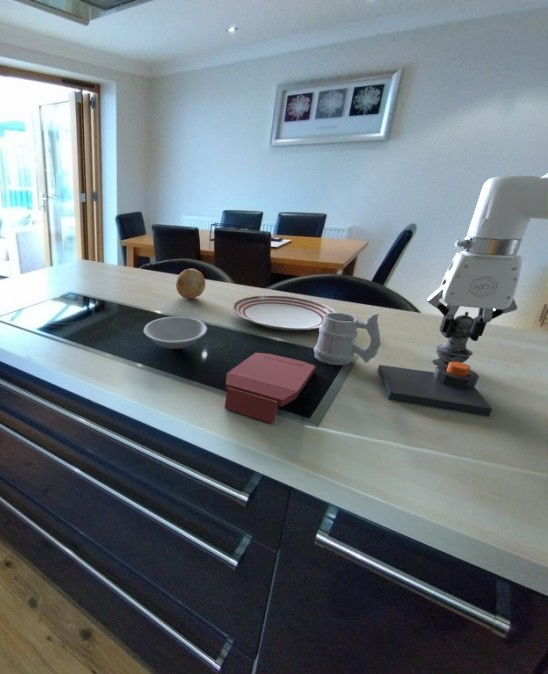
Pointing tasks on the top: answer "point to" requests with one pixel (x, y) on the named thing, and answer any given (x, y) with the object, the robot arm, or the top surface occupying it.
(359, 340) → the top surface
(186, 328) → the dish
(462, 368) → the button
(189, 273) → the onion
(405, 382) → the scale
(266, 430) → the top surface
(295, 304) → the dinner plate
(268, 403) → the carton
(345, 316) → the mug
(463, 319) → the salt shaker
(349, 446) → the top surface
